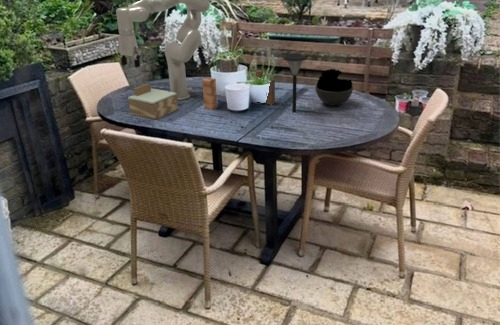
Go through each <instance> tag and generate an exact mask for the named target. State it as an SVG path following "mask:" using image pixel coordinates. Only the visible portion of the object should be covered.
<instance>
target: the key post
mask: <svg viewBox="0 0 500 325" xmlns="http://www.w3.org/2000/svg"><path fill="white" fill-rule="evenodd" d="M201 81H202V91H203V95H202V96H203V104H204V109H205V110H210V111H213V110H215V109H217V108H218V99H217V98H218V96H217V82H216V78H212V77H206V78H203V79H202V80H201Z"/></svg>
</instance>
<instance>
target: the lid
mask: <svg viewBox="0 0 500 325" xmlns="http://www.w3.org/2000/svg"><path fill="white" fill-rule="evenodd" d="M133 91H134V95H131V96H130V95H129V96H128V97H127V99H128V100H129V99H130V100H135V101H140V102H144V103H149V104H155V103H158V102H160V101H163V100H165V99H168V98H170V97H173V96H175V95H177V93H174V92H171V91H168V90H162V89H157V88H152V87H151V84H150V83H145V84H142V85H139V86H136V87H134V88H133Z"/></svg>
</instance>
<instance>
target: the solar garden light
mask: <svg viewBox="0 0 500 325" xmlns="http://www.w3.org/2000/svg"><path fill="white" fill-rule="evenodd" d="M282 58H283V59H282V60H284V61H287V64H288V66H289V69H290V72H291V73H292V107H291V108H292V109H291V110H292V113H294V112H295V113H296V112H297V77H298V76H297V75H298V72H299V71H300V69H301V66H302V64H303V62H304V61H307V60H308V57H307V56H304V55H303V54H301V53H290V54H288V55H286V56H284V57H282Z"/></svg>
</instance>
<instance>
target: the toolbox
mask: <svg viewBox="0 0 500 325" xmlns="http://www.w3.org/2000/svg"><path fill="white" fill-rule="evenodd" d="M128 107H129V113H130V115H133V116H137V117H142V118H146V119H150V120H154V121H155V120H158V119H160V118H162V117H165V116H168V115H169V114H172V113H174V112H175V111H178V110H179V104H178V100H177V95H175V96H173V97H170V98H168V99H165V100H163V101H160V102H158V103H155V104H149V103H144V102H140V101H135V100H130V99H128Z"/></svg>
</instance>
